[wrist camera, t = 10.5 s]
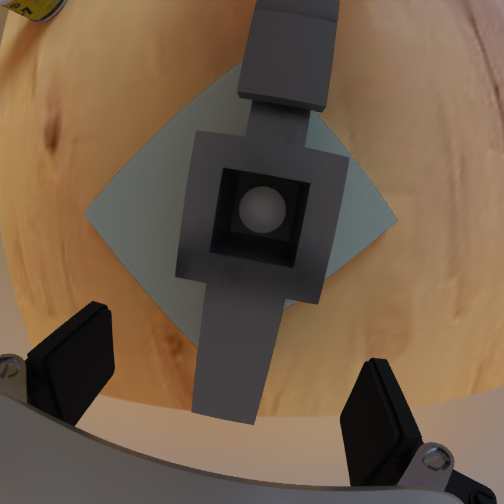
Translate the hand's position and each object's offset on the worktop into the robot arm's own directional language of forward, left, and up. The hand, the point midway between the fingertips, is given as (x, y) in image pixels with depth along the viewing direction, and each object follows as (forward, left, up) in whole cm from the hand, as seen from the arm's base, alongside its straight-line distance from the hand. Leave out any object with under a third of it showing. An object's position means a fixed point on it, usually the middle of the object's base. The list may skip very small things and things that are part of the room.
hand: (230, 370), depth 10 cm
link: (-2, -2, -10) cm, 10 cm away
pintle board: (-4, -5, -11) cm, 12 cm away
